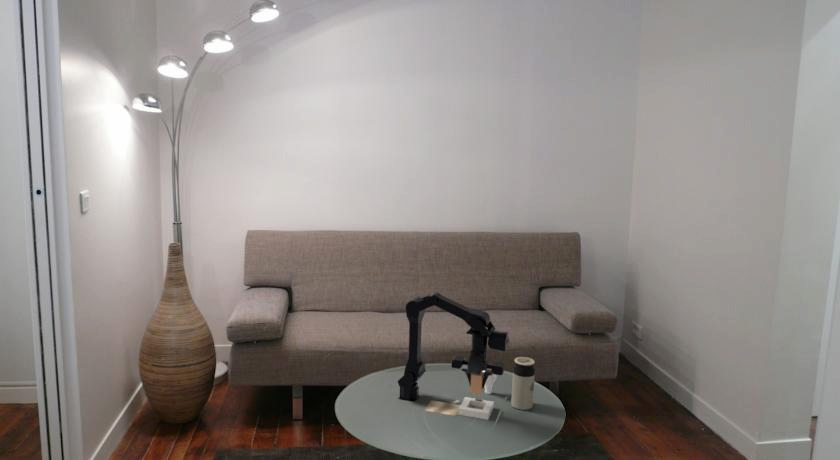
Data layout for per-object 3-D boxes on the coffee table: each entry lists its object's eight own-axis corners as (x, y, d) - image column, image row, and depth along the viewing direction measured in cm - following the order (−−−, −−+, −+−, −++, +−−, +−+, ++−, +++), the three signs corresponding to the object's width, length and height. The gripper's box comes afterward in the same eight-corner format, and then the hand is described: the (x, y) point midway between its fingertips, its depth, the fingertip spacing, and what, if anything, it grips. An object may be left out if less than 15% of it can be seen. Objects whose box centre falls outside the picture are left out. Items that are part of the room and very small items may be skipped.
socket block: (458, 416, 218) (458, 406, 217) (464, 404, 227) (465, 395, 227) (488, 421, 215) (488, 411, 214) (493, 409, 224) (493, 400, 223)
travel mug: (507, 405, 227) (509, 360, 225) (518, 399, 233) (521, 355, 230) (524, 412, 222) (527, 366, 219) (536, 405, 228) (539, 360, 225)
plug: (470, 392, 218) (471, 373, 217) (472, 388, 222) (473, 369, 221) (481, 394, 217) (482, 375, 216) (483, 390, 221) (484, 371, 220)
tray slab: (424, 411, 220) (424, 410, 220) (431, 401, 229) (431, 400, 229) (455, 417, 217) (455, 416, 216) (461, 406, 225) (461, 405, 225)
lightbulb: (495, 398, 233) (496, 371, 231) (479, 396, 234) (480, 370, 232) (496, 392, 239) (497, 365, 237) (481, 390, 240) (482, 364, 238)
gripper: (448, 350, 212) (446, 392, 214) (500, 358, 206) (498, 400, 209) (456, 340, 222) (454, 380, 225) (506, 347, 217) (503, 388, 219)
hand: (477, 387), depth 219 cm, fingers closed on plug, 4 cm apart
